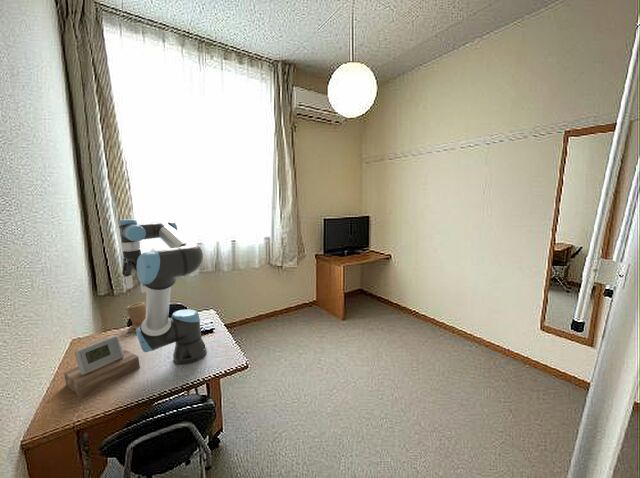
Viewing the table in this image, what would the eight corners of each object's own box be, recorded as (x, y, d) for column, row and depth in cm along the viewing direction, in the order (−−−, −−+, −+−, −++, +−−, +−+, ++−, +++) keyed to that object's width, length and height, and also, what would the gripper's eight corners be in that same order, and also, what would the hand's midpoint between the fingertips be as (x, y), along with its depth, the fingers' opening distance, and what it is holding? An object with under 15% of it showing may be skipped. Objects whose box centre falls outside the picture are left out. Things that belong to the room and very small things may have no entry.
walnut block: (139, 368, 131) (138, 356, 130) (82, 398, 112) (80, 384, 111) (122, 358, 139) (120, 347, 138) (66, 385, 120) (63, 372, 119)
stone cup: (136, 322, 179) (133, 300, 176) (156, 321, 179) (153, 299, 176) (121, 334, 164) (117, 310, 161) (142, 333, 164) (139, 309, 162)
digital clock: (79, 378, 116) (75, 354, 114) (77, 368, 122) (73, 346, 120) (126, 360, 127) (122, 339, 125) (121, 353, 133) (118, 332, 131)
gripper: (153, 250, 138) (159, 291, 142) (126, 246, 150) (131, 284, 154) (138, 253, 132) (143, 296, 135) (110, 249, 144) (116, 288, 147)
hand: (137, 289), depth 145 cm, fingers open, 13 cm apart
